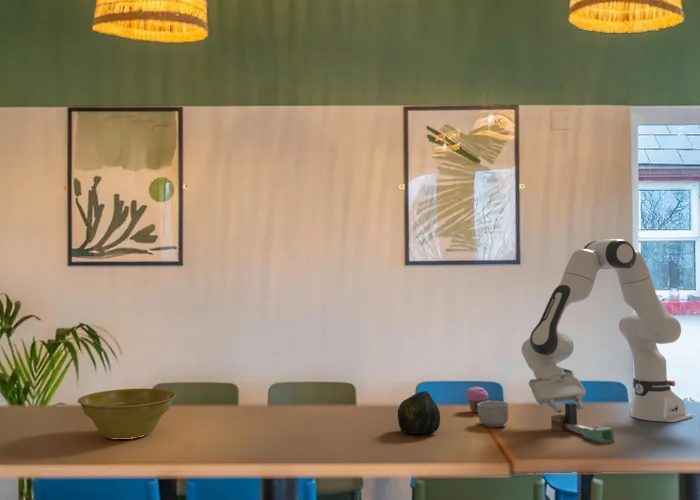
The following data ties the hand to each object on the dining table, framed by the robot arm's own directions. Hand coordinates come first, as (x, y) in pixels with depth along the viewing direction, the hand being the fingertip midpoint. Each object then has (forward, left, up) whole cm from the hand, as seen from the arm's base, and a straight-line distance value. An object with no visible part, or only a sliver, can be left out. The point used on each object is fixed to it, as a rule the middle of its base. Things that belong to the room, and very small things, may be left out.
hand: (570, 410), depth 219 cm
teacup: (+18, -19, -7) cm, 28 cm away
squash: (+48, -20, -7) cm, 53 cm away
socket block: (0, -3, -7) cm, 8 cm away
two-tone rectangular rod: (0, +3, -6) cm, 7 cm away
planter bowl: (+140, -59, -7) cm, 153 cm away
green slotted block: (0, +13, -7) cm, 15 cm away
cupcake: (+11, -39, -7) cm, 42 cm away
